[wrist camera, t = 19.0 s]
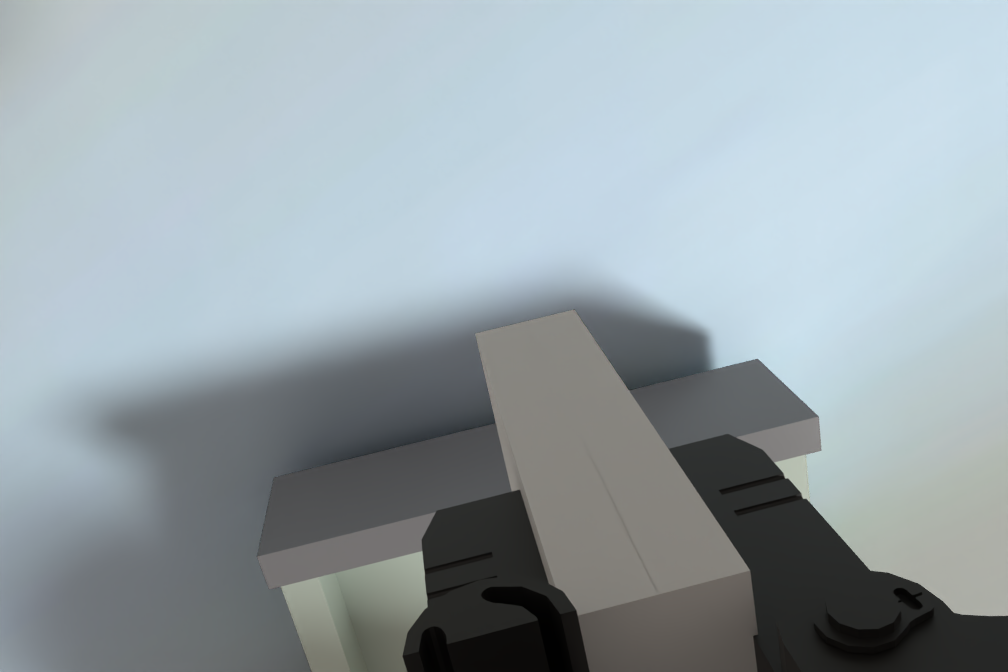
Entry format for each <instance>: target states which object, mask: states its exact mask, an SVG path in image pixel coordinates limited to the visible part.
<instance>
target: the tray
mask: <svg viewBox="0 0 1008 672" xmlns="http://www.w3.org/2000/svg"><path fill="white" fill-rule="evenodd" d="M629 391H630V393H631V394H632V396H633V397H634V399H635V400H636V402H637V403H638V405H639V406H640V408H641V409H642V411H643V412H644V414H645V415H646V417H647V418H648V420H649V421H650V423H651V424H652V425H653V427H654V428H655V430H656V431H657V433H658V434H659V436H660V437H661V439H662V440H663V442H664V443H665V445H666V446H667V448H668V449H670V448H673V447H677V446H681V445H685V444H689V443H693V442H697V441H701V440H705V439H709V438H713V437H717V436H721V435H725V434H730V435H732V436H734V437H736V438H738V439H741V440H743V441H745V442H747V443H749V444H752V445H754V446H756V447H758V448H760V449H762V450H763V451H764V452H765V453H766V454H767V455H768V456H769V457H770V458H771V460H772V461H773V462H774V463H775V464H776V465H777V466H778V467H779V469H780V470H781V471H782V472H783V473H784V476H785V479H786V478H788V479H789V480H790V481H791V482H792V483H793V484H794V485H795V487H796V488H797V489H798V490H799V491H800V492H801V494H802V497H803V499H807V500H808V501H809V502H810V496H809V485H808V473H807V461H806V454H810V453H814V452H818V451H821V439H820V426H819V416H818V415H817V414H815V413H814V412H813V411H812V410H811V409H810V408H809V407H808V406H807V405H806V404H805V403H804V402H803V401H802V400H801V399H800V398H799V397H798V396H796V395H795V394H794V393H793V392H792V391H791V390H790V389H789V388H788V387H787V386H786V385H785V384H784V383H783V382H782V381H781V380H780V379H778V378H777V377H776V376H775V375H774V374H773V373H772V372H771V371H770V370H769V369H768V368H767V367H766V366H765V365H764V364H763V363H762V362H761V361H759V360H758V359H755V360H751V361H747V362H743V363H739V364H734V365H730V366H726V367H722V368H718V369H714V370H710V371H706V372H702V373H698V374H694V375H690V376H685V377H681V378H677V379H673V380H669V381H665V382H661V383H657V384H653V385H649V386H645V387H641V388H637V389H632V390H629ZM508 492H512V491H511V486H510V482H509V478H508V473H507V469H506V465H505V460H504V456H503V452H502V448H501V443H500V439H499V435H498V430H497V426H496V423H494V424H490V425H486V426H482V427H477V428H473V429H469V430H465V431H461V432H457V433H453V434H449V435H445V436H441V437H437V438H433V439H429V440H424V441H420V442H416V443H412V444H408V445H404V446H400V447H396V448H392V449H388V450H384V451H380V452H376V453H371V454H367V455H363V456H359V457H355V458H351V459H347V460H343V461H339V462H335V463H331V464H327V465H323V466H318V467H314V468H310V469H306V470H302V471H298V472H294V473H290V474H286V475H282V476H278V477H274V479H273V484H272V488H271V493H270V498H269V502H268V507H267V512H266V517H265V521H264V526H263V531H262V535H261V540H260V545H259V549H258V554H257V558H258V561H259V564H260V566H261V569H262V572H263V575H264V577H265V580H266V583H267V585H268V588H269V589H273V588H277V587H281V588H282V591H283V594H284V597H285V600H286V602H287V605H288V608H289V611H290V613H291V616H292V619H293V622H294V624H295V627H296V630H297V633H298V635H299V638H300V641H301V644H302V646H303V649H304V652H305V655H306V657H307V660H308V663H309V666H310V668H311V671H312V672H407V669H406V666H405V663H404V660H403V657H402V655H403V651H404V646H405V642H406V637H407V633H408V631H409V630H410V628H411V627H412V626H413V624H414V623H415V622H416V620H417V619H418V618H419V616H420V615H421V614H422V612H423V611H424V610H425V609H426V608H427V607H428V606H427V600H428V599H427V594H426V585H425V571H424V563H423V552H422V541H421V540H422V538H423V536H424V534H425V532H426V530H427V528H428V526H429V524H430V522H431V520H432V518H433V517H434V515H435V513H436V511H437V510H441V509H445V508H449V507H453V506H457V505H461V504H465V503H469V502H473V501H477V500H481V499H485V498H489V497H492V496H496V495H500V494H504V493H508Z"/></svg>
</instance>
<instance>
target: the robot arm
mask: <svg viewBox="0 0 1008 672" xmlns="http://www.w3.org/2000/svg"><path fill="white" fill-rule="evenodd" d="M475 336H476V340H477V344H478V348H479V353H480V357H481V361H482V366H483V370H484V374H485V379H486V383H487V387H488V392H489V396H490V400H491V404H492V409H493V413H494V417H495V422H496V426H497V430H498V435H499V439H500V443H501V448H502V452H503V456H504V460H505V465H506V469H507V473H508V478H509V482H510V486H511V491H512V492H508V493H504V494H500V495H496V496H492V497H489V498H485V499H481V500H477V501H473V502H469V503H465V504H461V505H457V506H453V507H449V508H445V509H441V510H437V511H436V513H435V515H434V517H433V518H432V520H431V522H430V524H429V526H428V528H427V530H426V532H425V534H424V536H423V538H422V540H421V541H422V552H423V563H424V571H425V585H426V594H427V599H428V600H427V606H428V607H427V608H426V609H425V610H424V611H423V612H422V614H421V615H420V616H419V618H418V619H417V620H416V622H415V623H414V624H413V626H412V627H411V628H410V630H409V631H408V633H407V637H406V642H405V646H404V651H403V655H402V657H403V660H404V663H405V666H406V669H407V672H1008V616H975V615H961V614H956V613H953V612H952V611H951V609H950V608H949V607H948V606H947V605H946V604H945V603H944V602H943V601H942V600H940V599H939V598H937V597H936V596H935V595H933V594H932V593H931V592H929V591H928V590H926V589H925V588H924V587H922V586H921V585H920V584H918V583H915V582H912V581H909V580H907V579H904V578H901V577H898V576H896V575H893V574H890V573H885V572H876V571H870V570H869V569H868V568H867V567H866V565H865V564H864V563H863V562H862V561H861V560H860V559H859V558H858V556H857V555H856V554H855V553H854V552H853V551H852V550H851V549H850V547H849V546H848V545H847V544H846V543H845V542H844V541H843V540H842V538H841V537H840V536H839V535H838V534H837V533H836V532H835V531H834V529H833V528H832V527H831V526H830V525H829V524H828V523H827V521H826V520H825V519H824V518H823V517H822V516H821V515H820V514H819V512H818V511H817V510H816V509H815V508H814V507H813V506H812V505H811V503H810V502H809V501H808V500H807V499H803V497H802V494H801V492H800V491H799V490H798V489H797V488H796V487H795V485H794V484H793V483H792V482H791V481H790V480H789V479H788V478H786V479H785V476H784V473H783V472H782V471H781V470H780V469H779V467H778V466H777V465H776V464H775V463H774V462H773V461H772V460H771V458H770V457H769V456H768V455H767V454H766V453H765V452H764V451H763V450H762V449H760V448H758V447H756V446H754V445H752V444H749V443H747V442H745V441H743V440H741V439H738V438H736V437H734V436H732V435H730V434H725V435H721V436H717V437H713V438H709V439H705V440H701V441H697V442H693V443H689V444H685V445H681V446H677V447H673V448H670V449H668V448H667V446H666V445H665V443H664V442H663V440H662V439H661V437H660V436H659V434H658V433H657V431H656V430H655V428H654V427H653V425H652V424H651V423H650V421H649V420H648V418H647V417H646V415H645V414H644V412H643V411H642V409H641V408H640V406H639V405H638V403H637V402H636V400H635V399H634V397H633V396H632V394H631V393H630V391H629V390H628V388H627V387H626V385H625V384H624V382H623V381H622V379H621V378H620V377H619V375H618V374H617V372H616V371H615V369H614V368H613V366H612V365H611V363H610V362H609V360H608V359H607V357H606V356H605V354H604V353H603V351H602V350H601V348H600V347H599V345H598V344H597V342H596V341H595V339H594V338H593V336H592V335H591V334H590V332H589V331H588V329H587V328H586V326H585V325H584V323H583V322H582V320H581V319H580V317H579V316H578V314H577V313H576V311H575V310H570V311H566V312H561V313H557V314H553V315H549V316H545V317H541V318H537V319H533V320H528V321H524V322H520V323H516V324H512V325H508V326H504V327H500V328H495V329H491V330H487V331H483V332H479V333H475Z"/></svg>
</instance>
